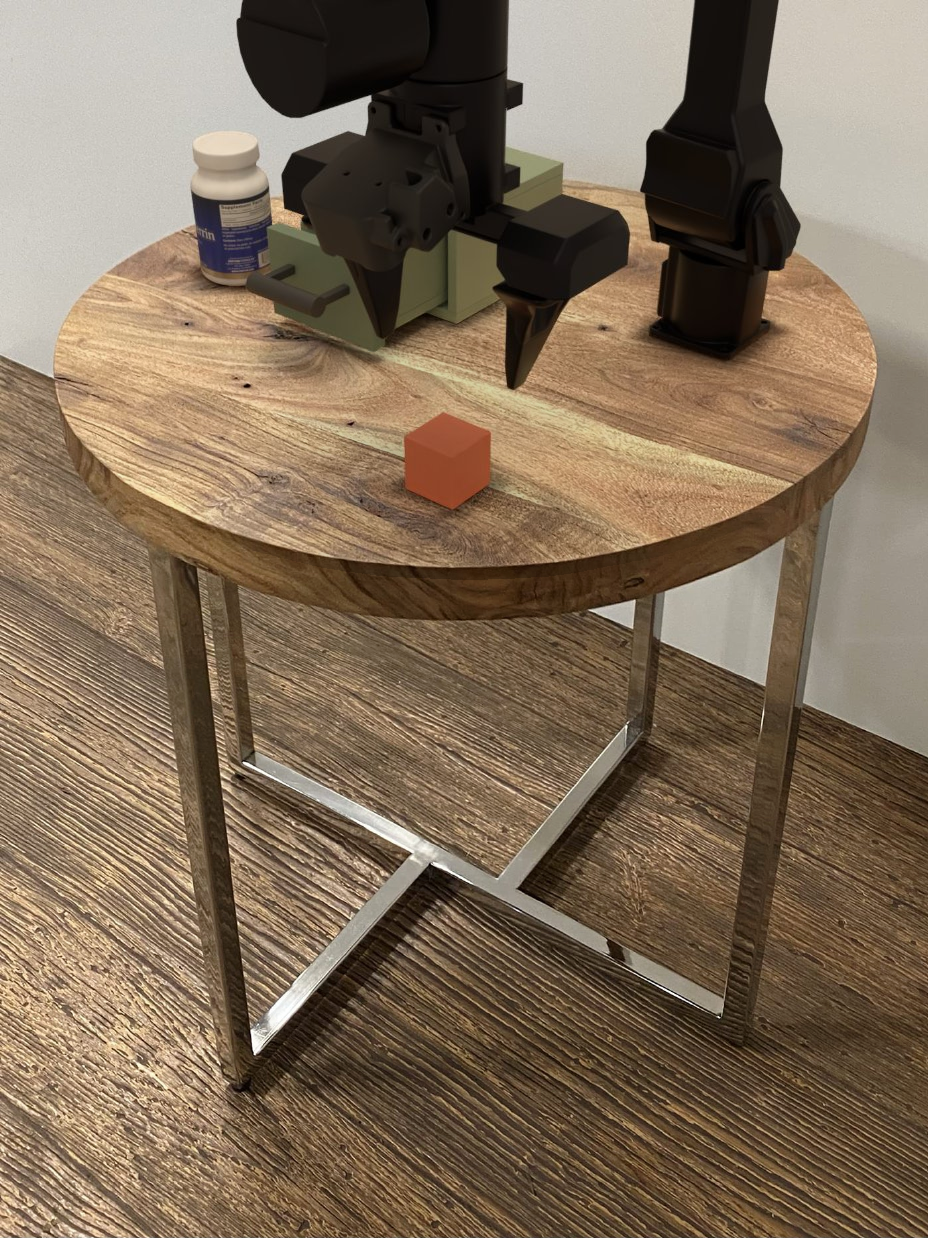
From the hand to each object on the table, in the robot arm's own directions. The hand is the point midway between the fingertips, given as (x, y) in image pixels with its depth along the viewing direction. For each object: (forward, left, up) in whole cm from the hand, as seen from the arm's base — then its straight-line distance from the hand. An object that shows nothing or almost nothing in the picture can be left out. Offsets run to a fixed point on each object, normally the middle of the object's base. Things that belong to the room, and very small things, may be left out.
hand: (448, 360), depth 72 cm
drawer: (+18, -12, -7) cm, 23 cm away
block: (0, 0, -8) cm, 8 cm away
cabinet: (+18, -23, -8) cm, 30 cm away
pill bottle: (+31, -13, -8) cm, 35 cm away
